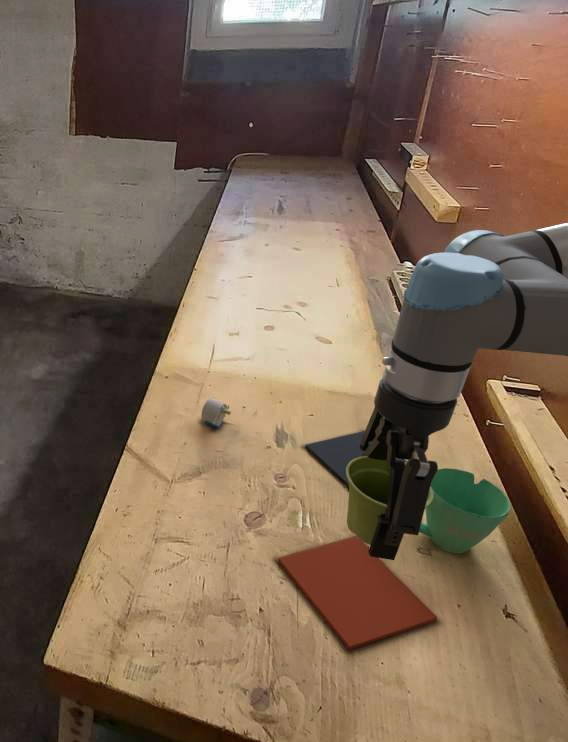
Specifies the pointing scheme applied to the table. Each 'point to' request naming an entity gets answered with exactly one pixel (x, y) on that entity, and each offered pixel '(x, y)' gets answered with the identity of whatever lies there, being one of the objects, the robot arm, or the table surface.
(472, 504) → the mug
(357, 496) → the plant pot
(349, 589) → the terracotta mat
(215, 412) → the electric motor
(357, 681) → the table surface
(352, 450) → the charcoal mat
